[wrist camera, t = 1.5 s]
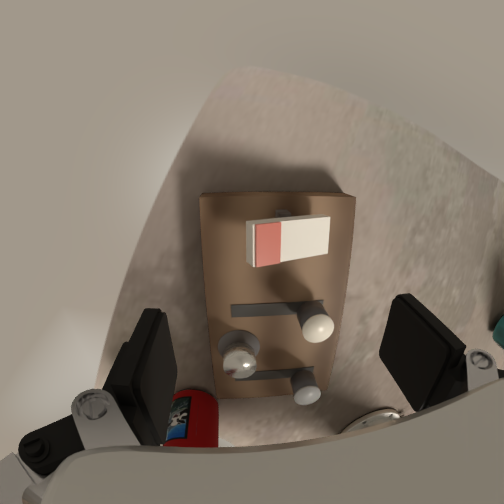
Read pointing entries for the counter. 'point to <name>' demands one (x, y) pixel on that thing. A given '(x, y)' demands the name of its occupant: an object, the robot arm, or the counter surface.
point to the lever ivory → (314, 321)
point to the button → (239, 360)
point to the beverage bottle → (499, 333)
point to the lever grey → (304, 387)
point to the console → (271, 288)
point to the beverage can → (193, 420)
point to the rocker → (286, 239)
